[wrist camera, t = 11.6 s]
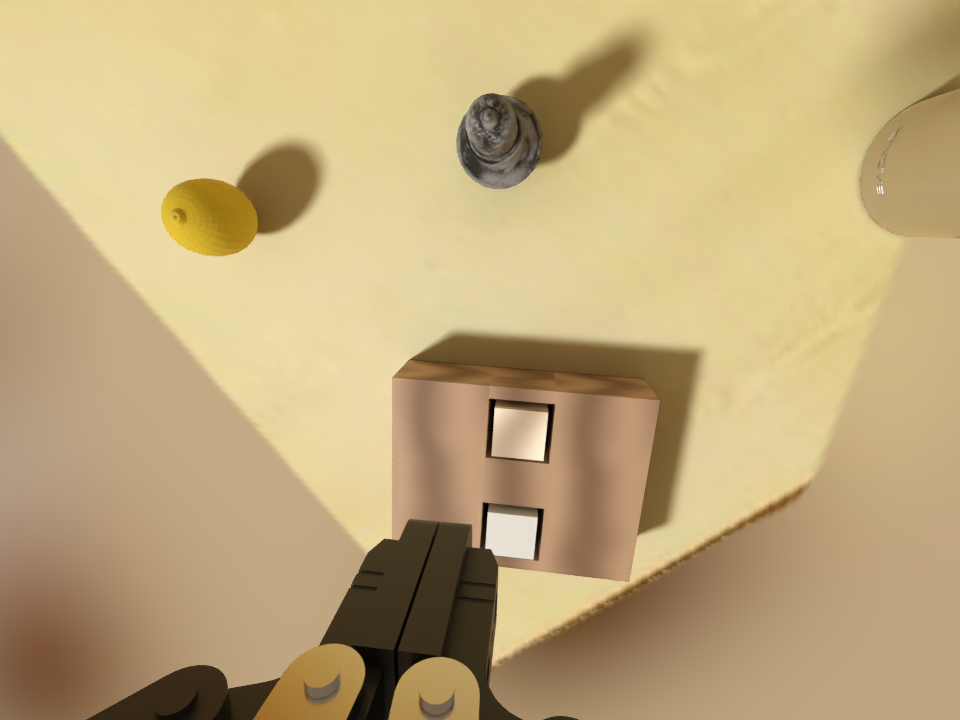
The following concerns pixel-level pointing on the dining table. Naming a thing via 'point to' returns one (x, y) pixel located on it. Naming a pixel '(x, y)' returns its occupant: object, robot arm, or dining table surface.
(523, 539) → the peg
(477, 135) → the salt shaker
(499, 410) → the peg
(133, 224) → the dining table surface
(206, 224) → the lemon
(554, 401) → the socket board
